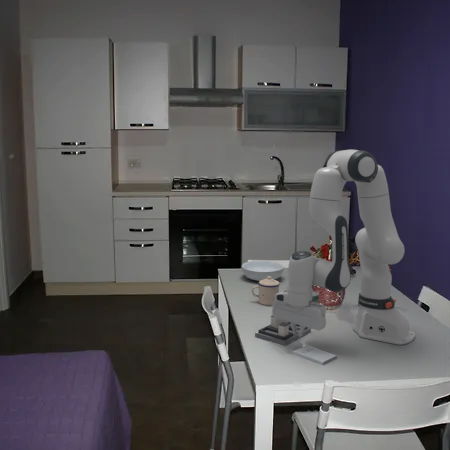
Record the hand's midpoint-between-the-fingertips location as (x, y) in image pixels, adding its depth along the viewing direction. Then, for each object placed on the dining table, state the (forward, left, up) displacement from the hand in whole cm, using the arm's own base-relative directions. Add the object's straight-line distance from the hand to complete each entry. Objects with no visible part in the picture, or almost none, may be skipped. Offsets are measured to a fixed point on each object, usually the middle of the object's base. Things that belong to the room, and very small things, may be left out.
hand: (297, 335), depth 201 cm
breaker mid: (+13, -6, -2) cm, 14 cm away
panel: (+9, -6, -4) cm, 12 cm away
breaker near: (+13, -11, -2) cm, 17 cm away
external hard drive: (-9, +4, -4) cm, 11 cm away
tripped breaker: (+6, 0, -2) cm, 6 cm away
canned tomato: (+11, -26, -4) cm, 28 cm away
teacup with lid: (+36, -32, -4) cm, 48 cm away
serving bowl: (+58, -61, -4) cm, 84 cm away
